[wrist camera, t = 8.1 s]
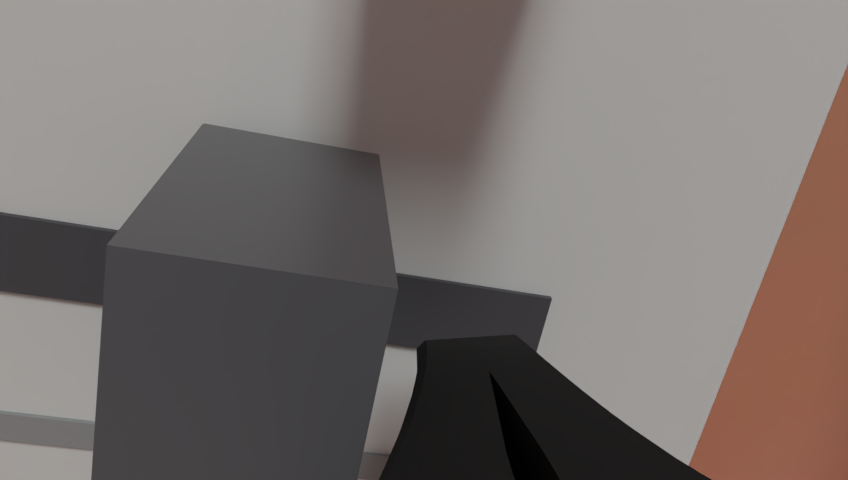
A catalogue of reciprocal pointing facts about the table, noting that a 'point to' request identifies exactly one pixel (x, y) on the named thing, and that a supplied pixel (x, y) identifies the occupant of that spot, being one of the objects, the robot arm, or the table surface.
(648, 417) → the mixer plate
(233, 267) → the fader
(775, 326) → the table surface
